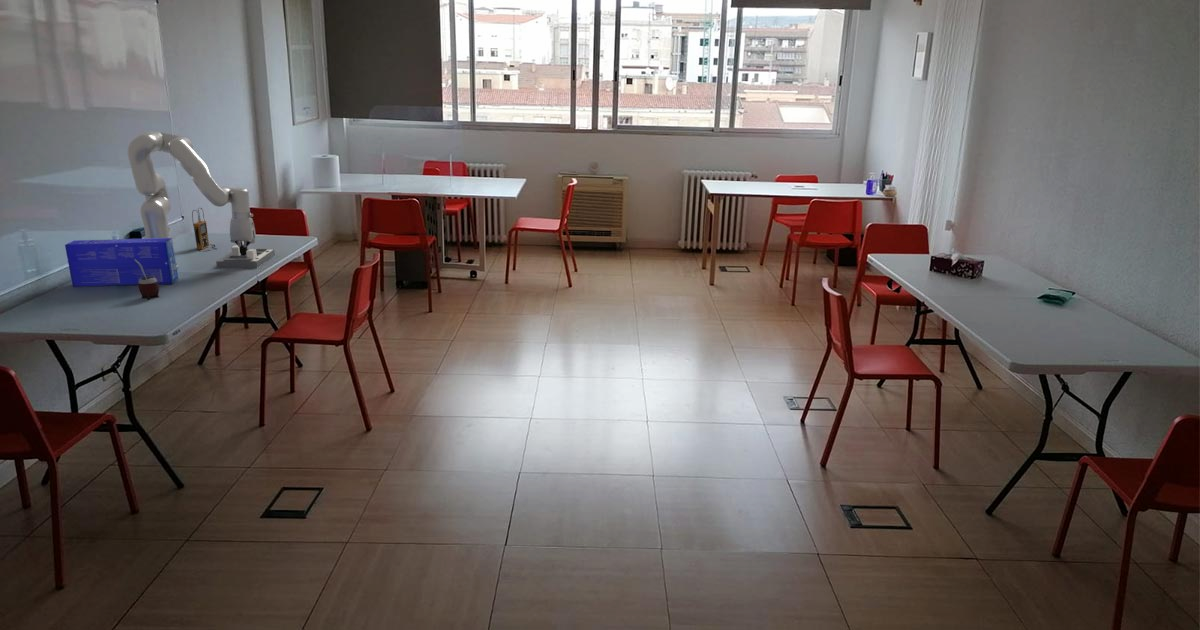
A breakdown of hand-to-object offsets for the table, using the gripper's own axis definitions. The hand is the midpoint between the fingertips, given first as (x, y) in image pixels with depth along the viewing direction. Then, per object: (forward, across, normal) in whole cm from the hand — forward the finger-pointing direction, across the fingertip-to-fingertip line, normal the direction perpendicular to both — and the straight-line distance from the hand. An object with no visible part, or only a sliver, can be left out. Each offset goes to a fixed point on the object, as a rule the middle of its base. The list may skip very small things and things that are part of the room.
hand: (243, 255), depth 372 cm
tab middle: (+2, +6, -7) cm, 9 cm away
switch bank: (+5, +1, -7) cm, 9 cm away
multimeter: (+6, +28, -33) cm, 44 cm away
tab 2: (+1, -4, 0) cm, 4 cm away
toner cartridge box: (+7, +38, +31) cm, 49 cm away
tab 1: (+2, +6, -14) cm, 15 cm away
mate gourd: (+6, +19, +52) cm, 55 cm away
